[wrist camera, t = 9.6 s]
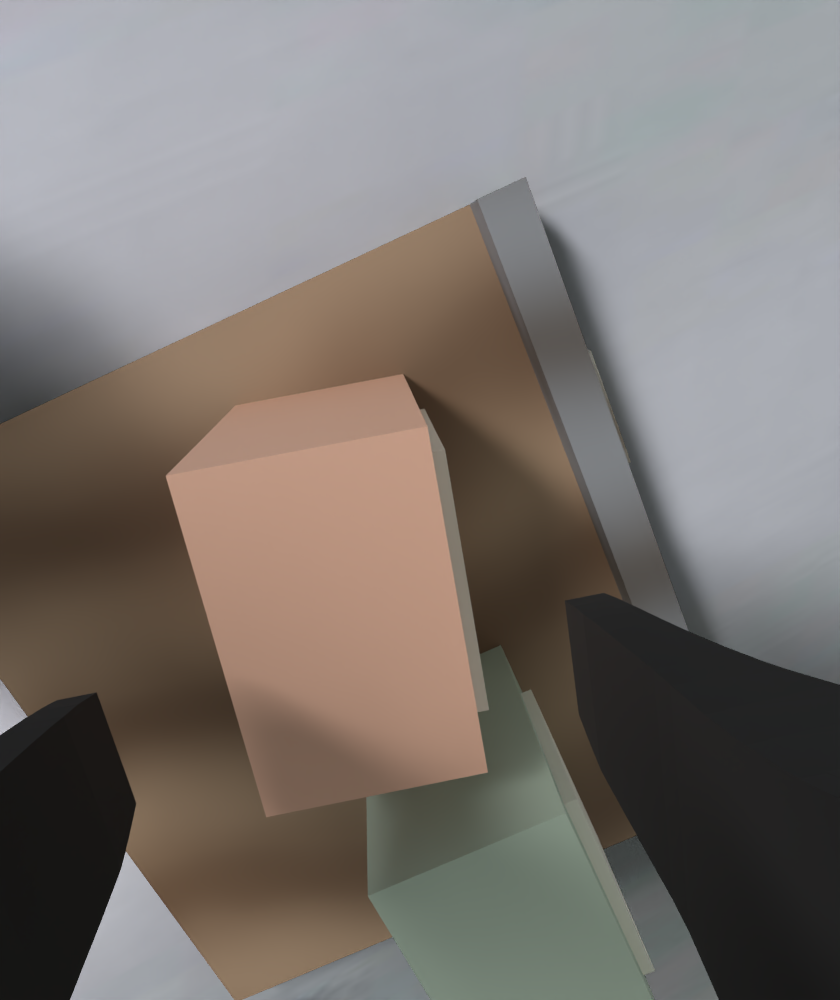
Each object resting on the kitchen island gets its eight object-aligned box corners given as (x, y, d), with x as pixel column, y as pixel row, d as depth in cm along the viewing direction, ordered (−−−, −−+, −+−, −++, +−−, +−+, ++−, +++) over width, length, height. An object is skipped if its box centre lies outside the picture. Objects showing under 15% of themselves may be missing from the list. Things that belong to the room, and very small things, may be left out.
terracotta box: (296, 643, 21) (266, 817, 14) (235, 405, 19) (165, 475, 12) (456, 612, 21) (503, 768, 14) (414, 371, 19) (445, 422, 12)
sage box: (456, 871, 23) (494, 1106, 17) (365, 704, 21) (367, 896, 15) (589, 815, 23) (681, 1031, 17) (510, 641, 21) (579, 807, 14)
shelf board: (-110, 476, 20) (-172, 502, 17) (512, 186, 19) (533, 173, 16) (241, 969, 25) (229, 1037, 23) (724, 767, 25) (762, 817, 22)
